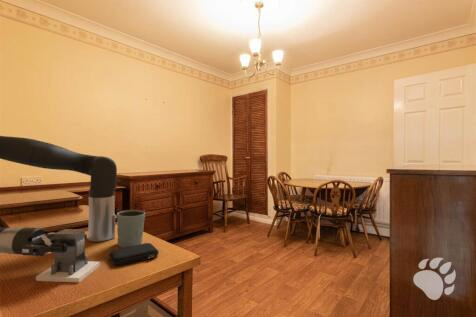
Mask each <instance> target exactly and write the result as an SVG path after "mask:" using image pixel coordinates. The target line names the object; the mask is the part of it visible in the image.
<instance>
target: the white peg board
mask: <svg viewBox="0 0 476 317" xmlns="http://www.w3.org/2000/svg"><path fill="white" fill-rule="evenodd" d="M100 266H101V261H89V255H88V254H85V266H84V267H82V268H81V269H80V270H78V271H77V272H75V273H73V265H69V272H56V265H55V264H51V265H50V267H49V268H48V269H46V270H45V271H42V272H41V273H39V274H38V275H36V276H35V281H36V282H58V283H59V282H61V283H62V282H63V283H81V282H82V281H83V280H84V279H85V278H86V277H88V276H89V275H90V274H92V273H93V272H94V271H95V270H97V269H98V268H100Z"/></svg>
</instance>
